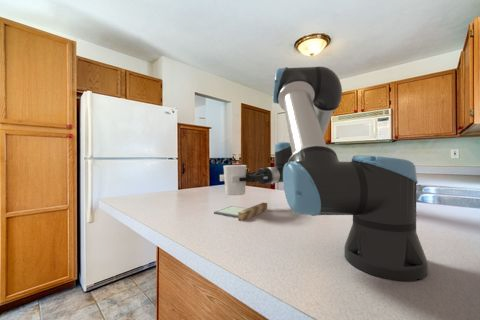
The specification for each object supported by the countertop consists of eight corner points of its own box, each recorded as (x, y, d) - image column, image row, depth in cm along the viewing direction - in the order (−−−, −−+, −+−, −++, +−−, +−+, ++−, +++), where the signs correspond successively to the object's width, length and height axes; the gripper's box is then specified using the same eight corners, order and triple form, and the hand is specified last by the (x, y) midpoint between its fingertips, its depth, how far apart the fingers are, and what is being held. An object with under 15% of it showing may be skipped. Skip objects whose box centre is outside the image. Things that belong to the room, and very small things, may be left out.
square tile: (239, 218, 84) (239, 216, 84) (213, 213, 91) (213, 211, 91) (256, 211, 95) (256, 209, 95) (232, 207, 102) (232, 205, 102)
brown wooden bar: (242, 221, 80) (242, 212, 80) (238, 220, 82) (238, 212, 82) (267, 209, 97) (267, 202, 97) (263, 209, 98) (263, 202, 98)
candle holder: (221, 192, 97) (221, 165, 96) (242, 191, 100) (242, 164, 99) (226, 196, 87) (226, 166, 87) (250, 194, 90) (249, 165, 90)
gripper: (284, 186, 94) (240, 191, 82) (253, 181, 112) (214, 185, 100) (284, 168, 94) (240, 171, 82) (253, 166, 112) (213, 168, 100)
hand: (225, 178), depth 91 cm, fingers closed on candle holder, 9 cm apart
